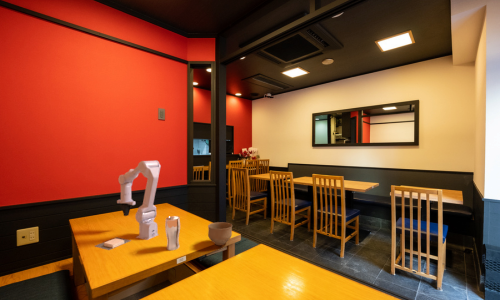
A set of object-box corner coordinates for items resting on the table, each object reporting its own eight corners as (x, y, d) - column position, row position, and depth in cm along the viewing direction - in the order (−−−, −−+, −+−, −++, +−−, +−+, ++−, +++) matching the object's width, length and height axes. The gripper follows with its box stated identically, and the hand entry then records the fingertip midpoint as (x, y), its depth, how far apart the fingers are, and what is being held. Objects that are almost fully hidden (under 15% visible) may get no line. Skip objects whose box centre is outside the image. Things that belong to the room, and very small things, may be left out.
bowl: (237, 241, 112) (237, 222, 112) (222, 251, 101) (221, 230, 102) (219, 236, 119) (218, 219, 119) (203, 245, 108) (202, 226, 108)
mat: (131, 241, 115) (131, 240, 115) (108, 251, 104) (108, 250, 104) (116, 238, 120) (116, 237, 120) (94, 247, 109) (94, 246, 109)
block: (115, 241, 114) (124, 243, 111) (104, 246, 108) (112, 248, 106) (115, 238, 114) (124, 240, 111) (104, 242, 108) (112, 244, 106)
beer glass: (164, 251, 102) (164, 220, 102) (166, 245, 109) (166, 216, 109) (179, 249, 104) (179, 219, 104) (180, 243, 111) (180, 215, 111)
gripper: (139, 193, 132) (140, 214, 132) (124, 191, 138) (124, 212, 138) (129, 195, 126) (129, 218, 125) (113, 193, 132) (113, 215, 131)
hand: (126, 215), depth 131 cm, fingers closed
